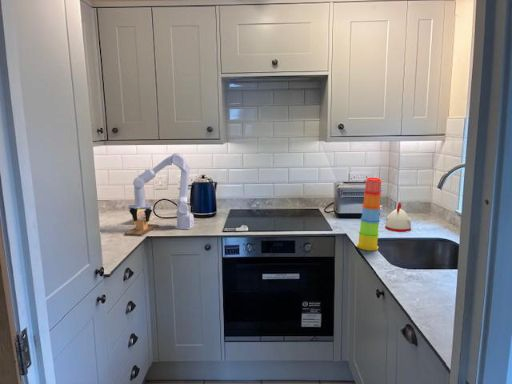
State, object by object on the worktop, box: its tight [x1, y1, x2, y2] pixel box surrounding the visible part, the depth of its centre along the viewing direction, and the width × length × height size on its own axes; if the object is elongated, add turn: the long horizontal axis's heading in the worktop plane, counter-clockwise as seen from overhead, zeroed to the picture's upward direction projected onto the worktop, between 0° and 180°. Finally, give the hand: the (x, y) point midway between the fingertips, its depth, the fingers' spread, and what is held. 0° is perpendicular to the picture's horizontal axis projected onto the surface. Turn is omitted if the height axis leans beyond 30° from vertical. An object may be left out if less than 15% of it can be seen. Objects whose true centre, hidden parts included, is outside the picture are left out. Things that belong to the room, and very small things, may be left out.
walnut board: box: [124, 223, 159, 237], centre depth 218 cm, size 10×20×1 cm, turn 167°
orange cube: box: [134, 219, 149, 230], centre depth 217 cm, size 5×5×5 cm
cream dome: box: [384, 202, 412, 233], centre depth 216 cm, size 14×14×15 cm
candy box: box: [131, 209, 151, 226], centre depth 238 cm, size 16×2×8 cm, turn 161°
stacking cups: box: [356, 177, 382, 252], centre depth 182 cm, size 10×10×35 cm
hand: (141, 221), depth 217 cm, fingers open, 7 cm apart
